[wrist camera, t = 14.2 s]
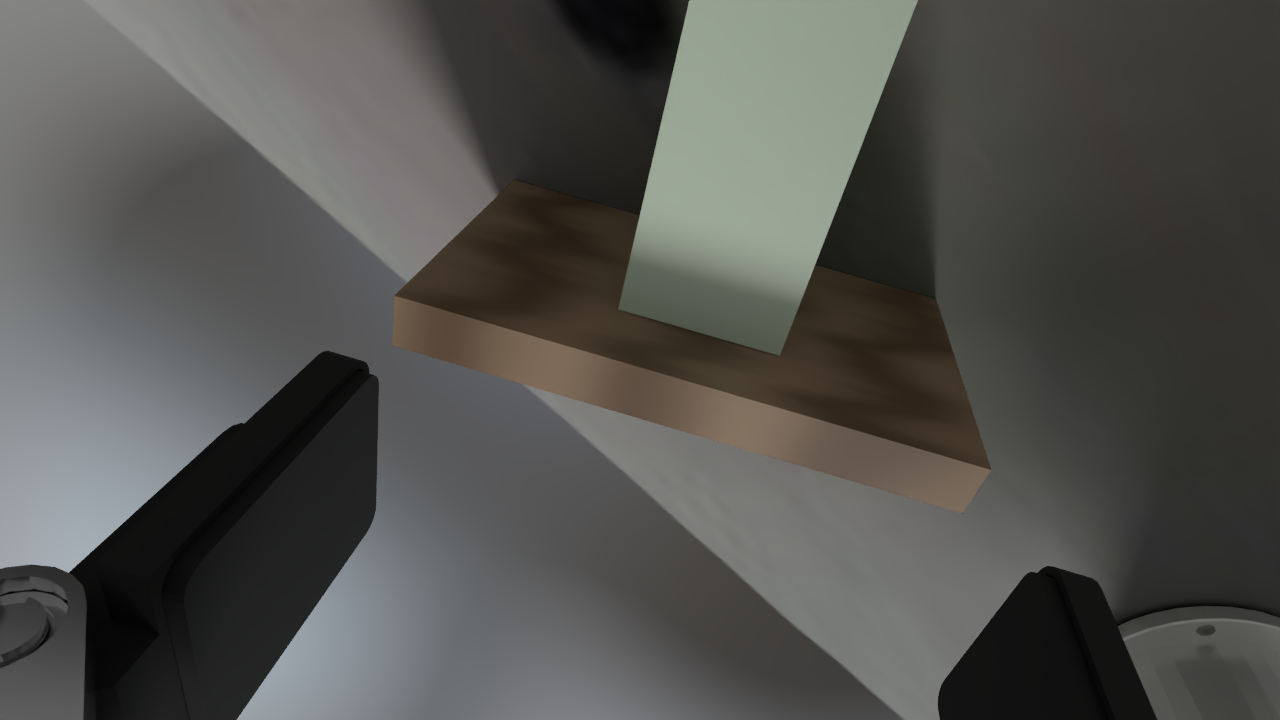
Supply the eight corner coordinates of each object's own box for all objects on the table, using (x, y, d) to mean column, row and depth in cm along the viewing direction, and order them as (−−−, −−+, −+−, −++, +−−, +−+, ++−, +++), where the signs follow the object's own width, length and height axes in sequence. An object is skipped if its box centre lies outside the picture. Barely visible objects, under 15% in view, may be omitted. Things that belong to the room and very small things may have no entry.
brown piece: (1118, -61, 25) (1320, -34, 15) (917, 335, 35) (962, 513, 25) (563, -205, 26) (413, -269, 16) (509, 219, 35) (392, 345, 25)
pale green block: (900, -65, 27) (937, -52, 19) (785, 254, 34) (779, 356, 26) (740, -107, 27) (714, -110, 19) (659, 219, 34) (618, 309, 27)
